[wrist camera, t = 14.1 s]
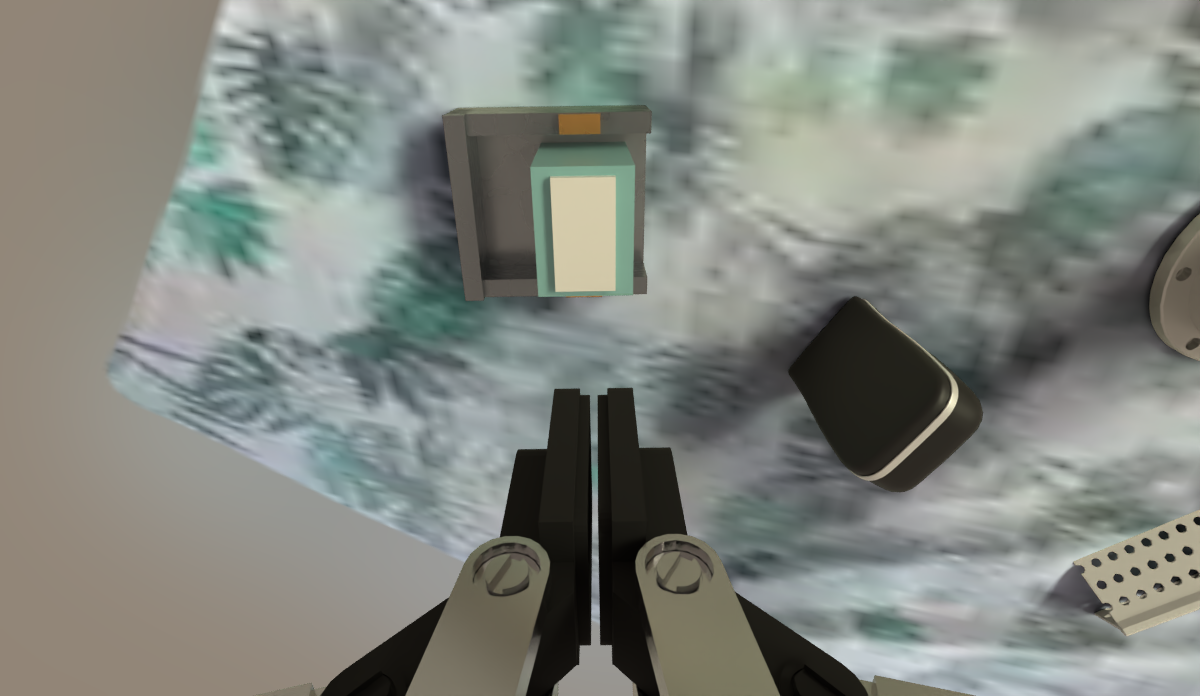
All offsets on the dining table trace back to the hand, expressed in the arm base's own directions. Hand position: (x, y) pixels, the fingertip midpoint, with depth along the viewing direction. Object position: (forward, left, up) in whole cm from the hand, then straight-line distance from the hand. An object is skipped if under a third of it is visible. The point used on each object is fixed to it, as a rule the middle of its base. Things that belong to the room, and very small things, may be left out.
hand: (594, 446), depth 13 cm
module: (0, 0, -23) cm, 23 cm away
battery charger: (-16, +10, -24) cm, 30 cm away
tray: (+2, 0, -24) cm, 24 cm away
